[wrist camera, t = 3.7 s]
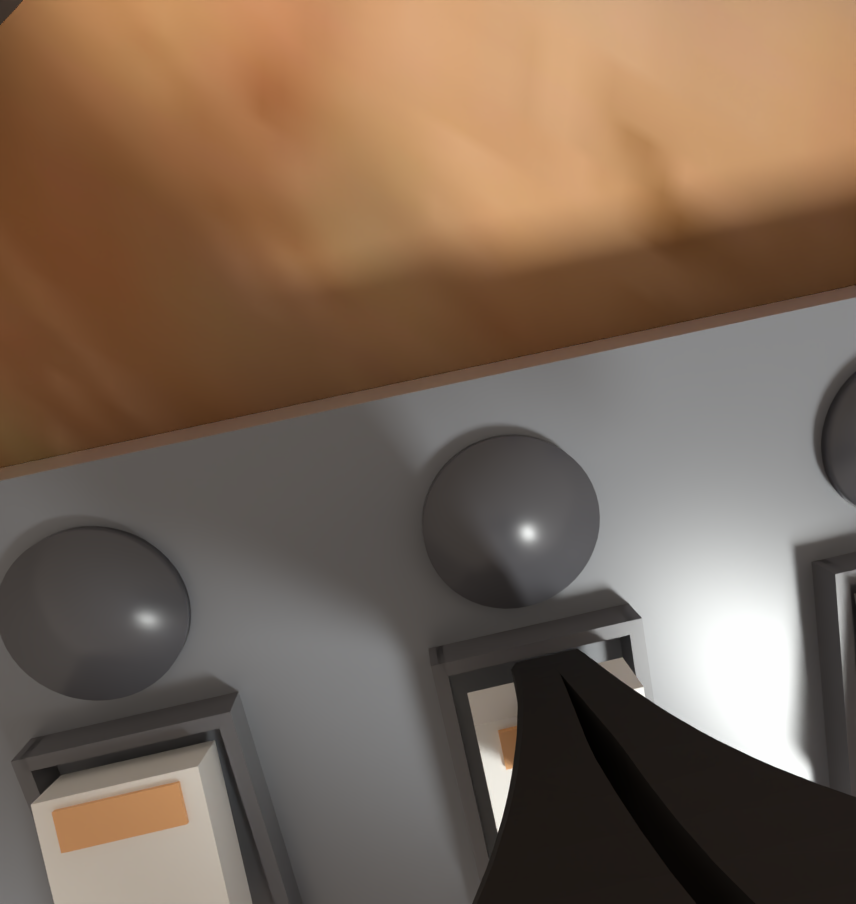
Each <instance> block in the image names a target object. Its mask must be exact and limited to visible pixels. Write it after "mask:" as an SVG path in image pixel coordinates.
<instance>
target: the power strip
mask: <svg viewBox="0 0 856 904" xmlns="http://www.w3.org/2000/svg"><path fill="white" fill-rule="evenodd" d="M854 594H856V285H854V286H849V287H845V288H840V289H835V290H830V291H826V292H821V293H816V294H812V295H807V296H802V297H798V298H793V299H788V300H784V301H779V302H774V303H770V304H765V305H760V306H756V307H751V308H746V309H742V310H737V311H732V312H728V313H723V314H718V315H714V316H709V317H704V318H700V319H695V320H690V321H685V322H681V323H676V324H671V325H667V326H662V327H657V328H653V329H648V330H643V331H639V332H634V333H629V334H625V335H620V336H615V337H611V338H606V339H601V340H597V341H592V342H587V343H583V344H578V345H573V346H569V347H564V348H559V349H555V350H550V351H545V352H540V353H536V354H531V355H526V356H522V357H517V358H512V359H508V360H503V361H498V362H494V363H489V364H484V365H480V366H475V367H470V368H466V369H461V370H456V371H452V372H447V373H442V374H438V375H433V376H428V377H424V378H419V379H414V380H410V381H405V382H400V383H395V384H391V385H386V386H381V387H377V388H372V389H367V390H363V391H358V392H353V393H349V394H344V395H339V396H335V397H330V398H325V399H321V400H316V401H311V402H307V403H302V404H297V405H293V406H288V407H283V408H279V409H274V410H269V411H265V412H260V413H255V414H251V415H246V416H241V417H236V418H232V419H227V420H222V421H218V422H213V423H208V424H204V425H199V426H194V427H190V428H185V429H180V430H176V431H171V432H166V433H162V434H157V435H152V436H148V437H143V438H138V439H134V440H129V441H124V442H120V443H115V444H110V445H106V446H101V447H96V448H91V449H87V450H82V451H77V452H73V453H68V454H63V455H59V456H54V457H49V458H45V459H40V460H35V461H31V462H26V463H21V464H17V465H12V466H7V467H3V468H0V904H54V901H53V896H52V892H51V888H50V884H49V880H48V876H47V871H46V867H45V863H44V859H43V855H42V850H41V846H40V842H39V838H38V834H37V829H36V825H35V821H34V817H33V813H32V808H31V804H32V803H33V802H34V801H35V800H36V799H37V798H38V797H39V796H40V795H41V794H42V793H43V792H44V791H45V790H46V789H47V788H48V787H49V786H50V785H51V784H53V783H54V782H55V781H56V780H57V779H58V778H59V777H60V776H61V775H64V774H68V773H73V772H77V771H81V770H86V769H90V768H94V767H99V766H103V765H108V764H112V763H116V762H121V761H125V760H129V759H134V758H138V757H143V756H147V755H151V754H156V753H160V752H164V751H169V750H173V749H178V748H182V747H186V746H191V745H195V744H199V743H204V742H208V741H213V740H215V742H216V747H217V751H218V755H219V760H220V764H221V768H222V773H223V777H224V782H225V786H226V790H227V795H228V799H229V803H230V808H231V812H232V816H233V821H234V825H235V830H236V834H237V838H238V843H239V847H240V851H241V856H242V860H243V864H244V869H245V873H246V877H247V882H248V886H249V891H250V895H251V899H252V904H472V903H473V900H474V898H475V895H476V893H477V890H478V888H479V885H480V883H481V880H482V878H483V875H484V873H485V870H486V868H487V865H488V862H489V860H490V857H491V854H492V851H493V848H494V844H495V841H496V837H497V834H498V833H497V829H496V824H495V819H494V815H493V810H492V806H491V801H490V796H489V792H488V787H487V782H486V778H485V773H484V769H483V764H482V759H481V755H480V750H479V745H478V741H477V736H476V731H475V727H474V722H473V718H472V713H471V708H470V704H469V699H468V694H467V693H469V692H474V691H478V690H482V689H487V688H491V687H496V686H500V685H504V684H509V683H513V677H512V671H511V669H512V668H513V666H514V665H515V663H517V662H521V661H526V660H530V659H535V658H539V657H543V656H548V655H552V654H556V653H561V652H565V651H569V650H574V649H579V650H580V651H582V652H583V653H585V654H586V655H587V656H589V657H590V658H591V659H593V660H594V661H595V662H597V663H600V662H605V661H609V660H613V659H618V658H622V657H623V659H624V660H625V661H626V663H627V664H628V666H629V667H630V668H631V670H632V671H633V673H634V674H635V675H636V677H637V678H638V680H639V681H640V682H641V684H642V685H643V687H644V693H645V697H646V698H647V699H649V700H650V701H652V702H653V703H655V704H656V705H658V706H659V707H661V708H662V709H664V710H665V711H667V712H669V713H670V714H672V715H674V716H675V717H677V718H679V719H680V720H682V721H684V722H686V723H687V724H689V725H691V726H692V727H694V728H696V729H698V730H699V731H701V732H703V733H705V734H707V735H709V736H711V737H713V738H714V739H716V740H718V741H720V742H723V743H725V744H727V745H729V746H731V747H733V748H735V749H737V750H739V751H741V752H743V753H745V754H747V755H749V756H751V757H754V758H756V759H758V760H760V761H763V762H765V763H767V764H770V765H772V766H774V767H777V768H779V769H782V770H784V771H787V772H789V773H792V774H794V775H797V776H799V777H802V778H805V779H807V780H810V781H812V782H815V783H817V784H820V785H823V786H826V787H829V788H831V789H834V790H837V791H840V792H843V793H846V794H849V795H852V796H855V797H856V603H855V598H854Z"/></svg>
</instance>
